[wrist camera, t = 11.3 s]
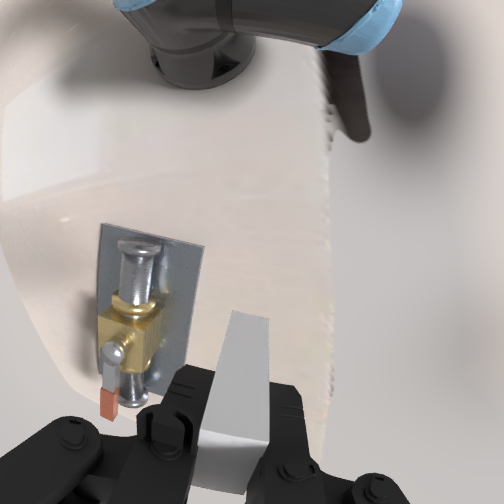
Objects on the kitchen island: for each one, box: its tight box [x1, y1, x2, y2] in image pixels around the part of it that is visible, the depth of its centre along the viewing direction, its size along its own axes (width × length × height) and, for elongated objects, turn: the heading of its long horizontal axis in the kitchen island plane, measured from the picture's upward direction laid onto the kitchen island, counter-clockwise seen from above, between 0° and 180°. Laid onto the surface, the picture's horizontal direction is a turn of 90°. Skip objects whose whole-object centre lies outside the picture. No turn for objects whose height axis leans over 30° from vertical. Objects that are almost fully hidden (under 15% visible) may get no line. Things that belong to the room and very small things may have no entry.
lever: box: [99, 338, 127, 421], centre depth 34 cm, size 15×3×2 cm, turn 161°
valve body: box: [97, 223, 205, 408], centre depth 39 cm, size 28×16×9 cm, turn 167°
